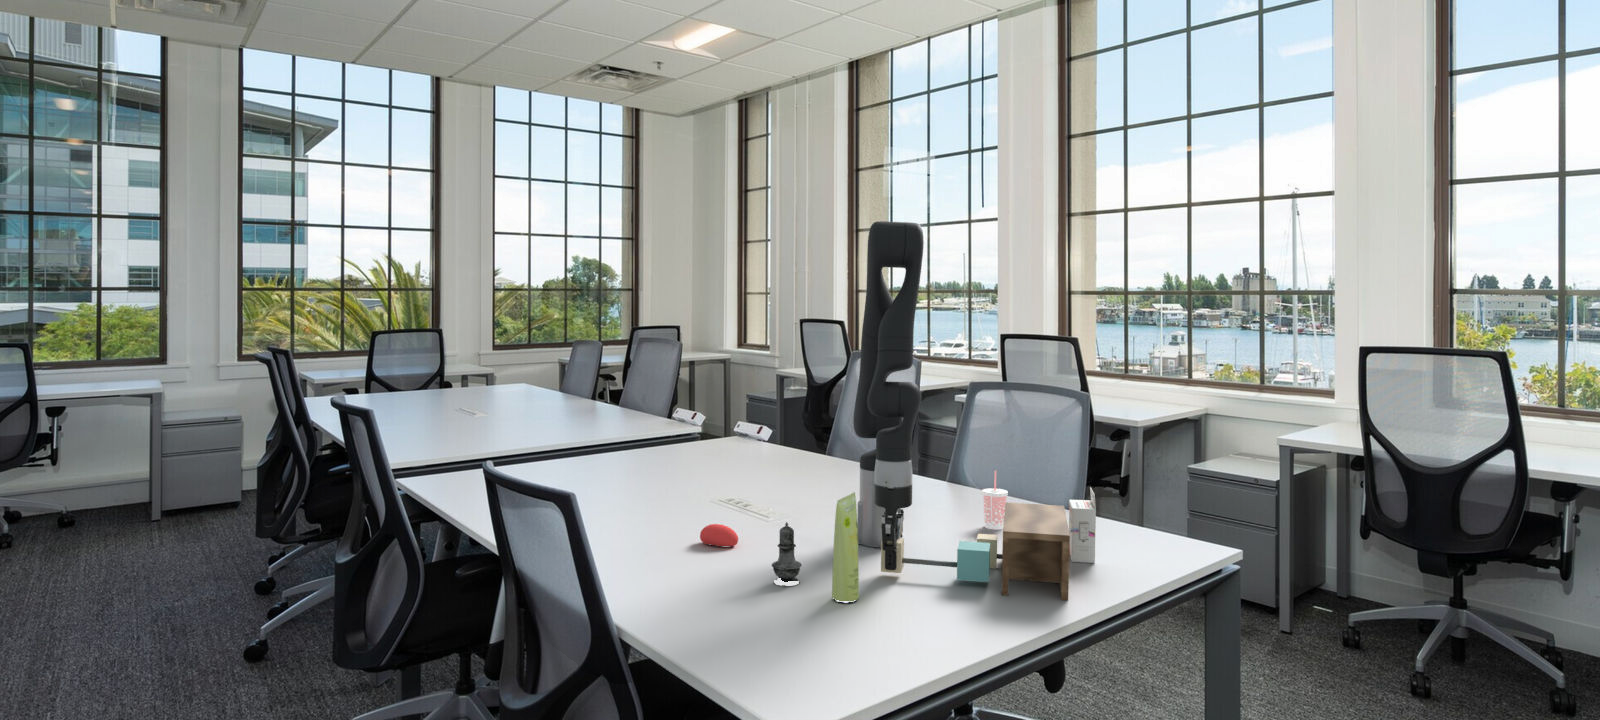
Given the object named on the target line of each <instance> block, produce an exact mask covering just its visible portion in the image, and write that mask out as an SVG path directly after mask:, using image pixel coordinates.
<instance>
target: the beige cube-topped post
mask: <svg viewBox="0 0 1600 720" xmlns="http://www.w3.org/2000/svg"><path fill="white" fill-rule="evenodd" d="M976 542H982V543H990V569H997V565H998V564H997V563H998V560H1002V554H1001V553H998V534H989V533H978V534H977V537H976Z"/></svg>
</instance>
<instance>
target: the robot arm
mask: <svg viewBox="0 0 1600 720" xmlns="http://www.w3.org/2000/svg"><path fill="white" fill-rule="evenodd" d="M924 243H925V242H924V231H923V229H922V225H920V224H919V223H917V222H907V221H904V222H903V221H886V220H885V221H883V220H882V221H881V220H880V221H878V220H877V221H875V222H873V223H872V224H871V225H870V228H869V232H868V237H867V252H866V254H867V255H866V256H867V257H866V258H867V259H866V288H865V289H866V291H865V303H864V312H863V319H862V328H861V329H862V331H861V341H860V342H861V343H860V359H859V360H860V364H859V374H858V375H859V376H858V383H857V390H856V396H855V403H854V409H853V430H854V434H855V435H856V436H857V437H858V438H861V439H875V449H872V450H870V451H866V452H865V453H864V452H863V454H861V456H860V458H859V501H858V502H857V528H858V545H863V546H867V547H871V548H881V541H882V545H883V546H882V548H883V550H884V551H885V569H886V570H895V569H896V564H897V550H898V548H897V541H898V540H899V539H900V538H904V536H903V532H904V520H905V512H904V509H907V508H909V507H911V506H912V505H913V464H912V442H913V433H914V427H915V424H916V420H917V417H918V414H919V410H920V408H921V403H922V392H921V389H920V387H919V386H918V385H917V384H916V383H915V382H911V381H887V379H888V377H889V376H890V375H891V374H893V373H897V372H899V371H906V370H908V369H910V368H912V366H913V362H914V333H915V331H914V329H915V317H916V310H917V303H918V296H919V289H920V282H921V276H922V275H921V274H922V266H923V265H922V264H923V257H924ZM884 268H892V269H893V268H896V269H897V268H899V269H905V272H904V273H905V275H904V279H903V281H902V286H901V288H900V290H899V291H898V293H897V294H896V297H894V298H893V297H892V294H891V293H890V290H889V288H888V286H887V283H886V281H885V279H884V274H883V269H884ZM888 541H891V542H892V545H891V544H887V542H888Z"/></svg>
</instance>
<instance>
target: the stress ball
mask: <svg viewBox="0 0 1600 720" xmlns="http://www.w3.org/2000/svg"><path fill="white" fill-rule="evenodd" d="M699 538H700V541H701V542H702V543H703V544H705V543H706V544H705V545H707V544H711V545H718V546H717V547H719V546H733V547H735V546H736V545H738V543H739V542H738V541H739V536H738V534H737V533H736V531H735V530H733V529H732V528H731V527H729V526H727V525H724V524H719V523H713V524H712V523H710V524H708V525H705V527H703V528H702V530H701V531H700V534H699ZM711 545H710V546H711ZM734 545H735V546H734Z"/></svg>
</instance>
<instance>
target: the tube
mask: <svg viewBox="0 0 1600 720" xmlns="http://www.w3.org/2000/svg"><path fill="white" fill-rule="evenodd" d="M835 508H836V509H835V519H834V532H833V533H834V536H833V558H832V584H831V585H832V587H831V588H832V590H831V599H832V598H834V599H836V600H839V601H854V600H857V599H858V598H859V596H860V595H859V593H860V591H859V581H860V580H859V575H860V574H859V571H860V570H859V569H860V568H859V544H858V528H857V513H858V507H857V497H856V492H855V491H854V492H852V493H850V494H849V495H846V496H844V497H842V498H840V499H837V500H836V506H835ZM858 600H859V599H858ZM858 600H857V601H858Z"/></svg>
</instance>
